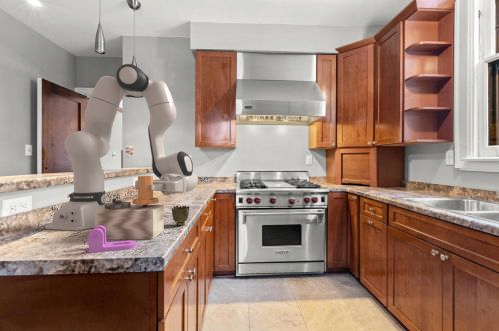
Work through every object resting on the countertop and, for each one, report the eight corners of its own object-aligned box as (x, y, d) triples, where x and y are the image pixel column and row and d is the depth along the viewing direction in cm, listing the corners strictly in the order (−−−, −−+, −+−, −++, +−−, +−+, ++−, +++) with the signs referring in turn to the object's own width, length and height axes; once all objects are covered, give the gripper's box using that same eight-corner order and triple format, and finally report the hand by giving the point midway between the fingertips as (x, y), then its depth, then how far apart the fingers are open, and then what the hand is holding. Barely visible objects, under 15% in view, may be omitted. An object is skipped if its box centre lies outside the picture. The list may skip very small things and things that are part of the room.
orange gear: (129, 202, 103) (129, 176, 102) (153, 200, 108) (153, 175, 108) (136, 205, 96) (136, 177, 95) (161, 203, 101) (161, 176, 101)
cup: (184, 228, 112) (184, 208, 112) (168, 226, 113) (168, 207, 113) (192, 223, 119) (192, 205, 119) (176, 223, 121) (176, 204, 121)
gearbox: (94, 239, 95) (94, 198, 95) (112, 229, 108) (112, 194, 108) (153, 239, 96) (153, 199, 96) (163, 229, 109) (163, 194, 108)
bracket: (88, 253, 81) (88, 229, 81) (92, 247, 86) (92, 225, 86) (136, 249, 85) (136, 226, 85) (137, 244, 91) (137, 223, 91)
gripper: (150, 175, 118) (123, 177, 105) (189, 177, 109) (164, 179, 97) (150, 190, 118) (123, 194, 105) (189, 193, 109) (164, 197, 97)
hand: (143, 187), depth 101 cm, fingers closed on orange gear, 5 cm apart
